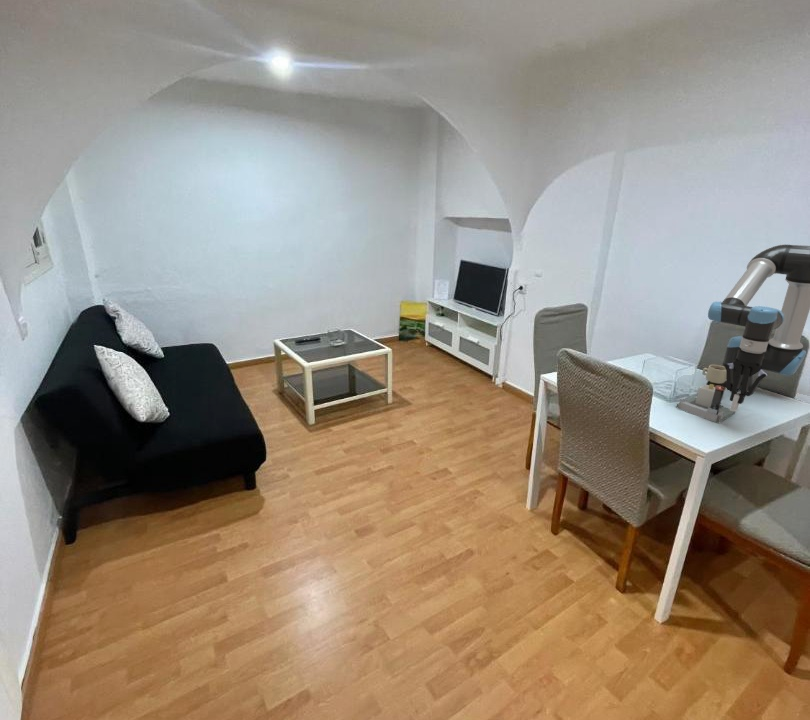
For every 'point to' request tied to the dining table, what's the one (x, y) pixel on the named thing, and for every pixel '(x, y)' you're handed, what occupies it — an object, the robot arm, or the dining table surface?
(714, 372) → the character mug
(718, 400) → the lever
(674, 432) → the dining table surface
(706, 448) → the dining table surface
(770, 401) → the dining table surface
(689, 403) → the base plate
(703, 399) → the housing
